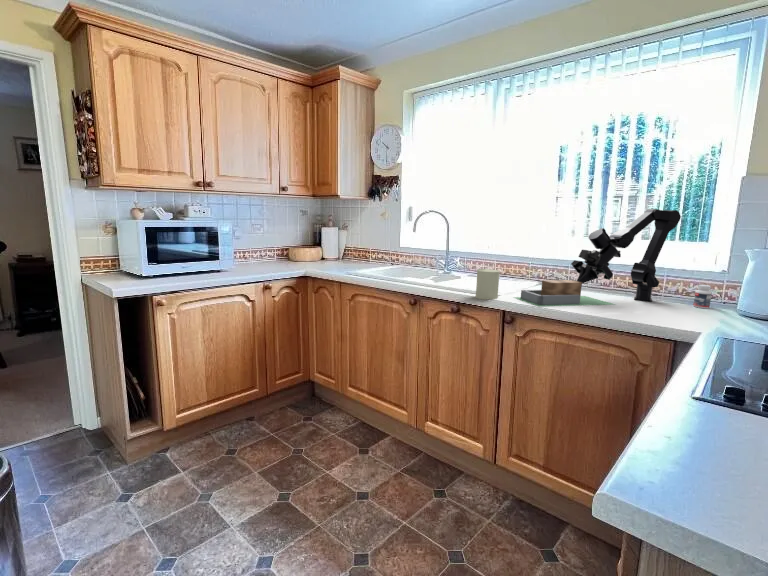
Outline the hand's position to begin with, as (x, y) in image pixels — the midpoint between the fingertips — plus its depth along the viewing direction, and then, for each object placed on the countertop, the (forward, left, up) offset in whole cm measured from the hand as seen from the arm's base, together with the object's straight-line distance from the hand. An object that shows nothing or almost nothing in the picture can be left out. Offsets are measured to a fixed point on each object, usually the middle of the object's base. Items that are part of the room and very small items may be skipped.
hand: (577, 283), depth 173 cm
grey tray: (+9, -9, -7) cm, 14 cm away
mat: (+4, -4, -7) cm, 9 cm away
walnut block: (+5, -5, -7) cm, 10 cm away
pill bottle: (-21, +44, -8) cm, 49 cm away
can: (+16, -32, -8) cm, 37 cm away
